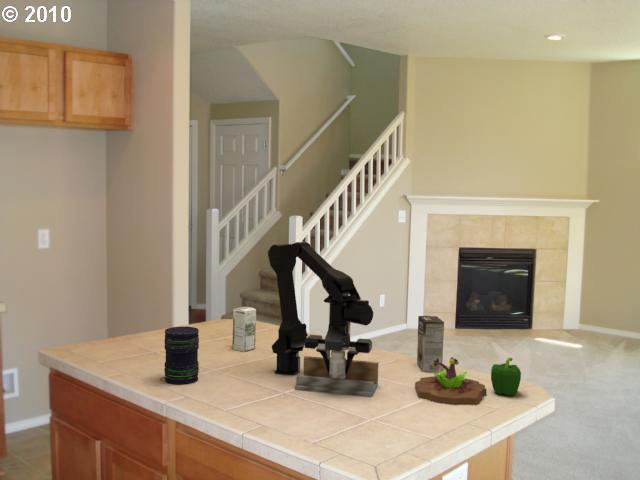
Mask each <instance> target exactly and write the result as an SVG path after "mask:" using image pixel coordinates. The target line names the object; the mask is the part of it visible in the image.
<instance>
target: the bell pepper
mask: <svg viewBox="0 0 640 480" xmlns="http://www.w3.org/2000/svg"><path fill="white" fill-rule="evenodd" d="M513 360H514V359H513V358H512V357H508V358H507V359H506V361H505V362H504V363H501V364H496V363H494V364H493V365H492V367H491V371H490V380H491V386H492V389H493V391H494V393H496V394H498V395H506V396H514V395H515V396H516V394H517V393H518V390H519V387H520V383H521V381H522V380H521V379H522V372H521V368H519V367H518V366H517V364H511V365H510V362H512V361H513Z"/></svg>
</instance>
